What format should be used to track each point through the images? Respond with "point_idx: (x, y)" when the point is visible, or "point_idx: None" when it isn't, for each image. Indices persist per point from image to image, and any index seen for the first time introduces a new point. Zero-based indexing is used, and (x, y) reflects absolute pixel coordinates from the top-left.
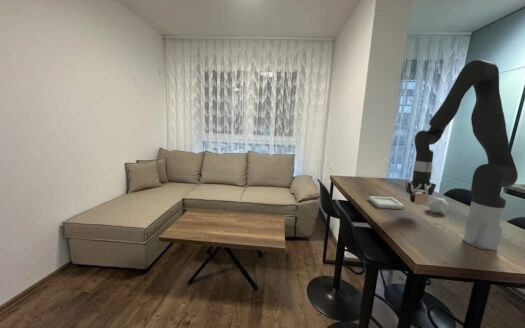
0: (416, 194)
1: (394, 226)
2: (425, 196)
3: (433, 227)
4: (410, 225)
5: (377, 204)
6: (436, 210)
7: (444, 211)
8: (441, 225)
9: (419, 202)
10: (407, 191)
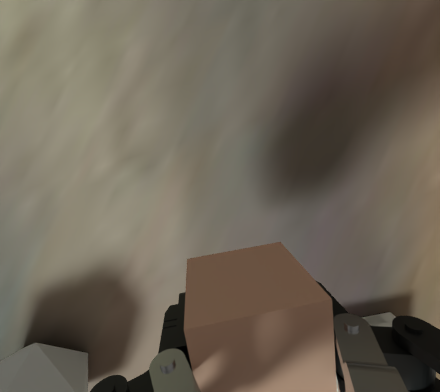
0: (326, 321)
1: (417, 40)
2: (208, 311)
3: (189, 92)
4: (316, 84)
5: None
6: (61, 351)
7: (8, 356)
8: (122, 142)
9: (254, 257)
10: (434, 374)
